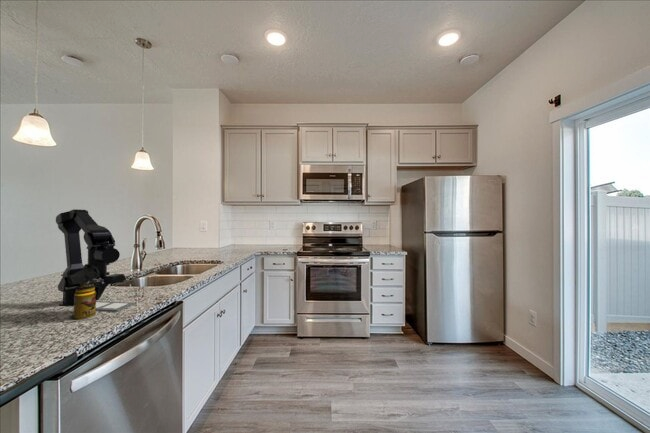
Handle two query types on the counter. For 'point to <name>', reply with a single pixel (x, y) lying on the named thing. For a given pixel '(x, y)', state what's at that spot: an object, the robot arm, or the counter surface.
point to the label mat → (112, 306)
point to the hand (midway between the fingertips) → (96, 300)
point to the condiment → (84, 303)
